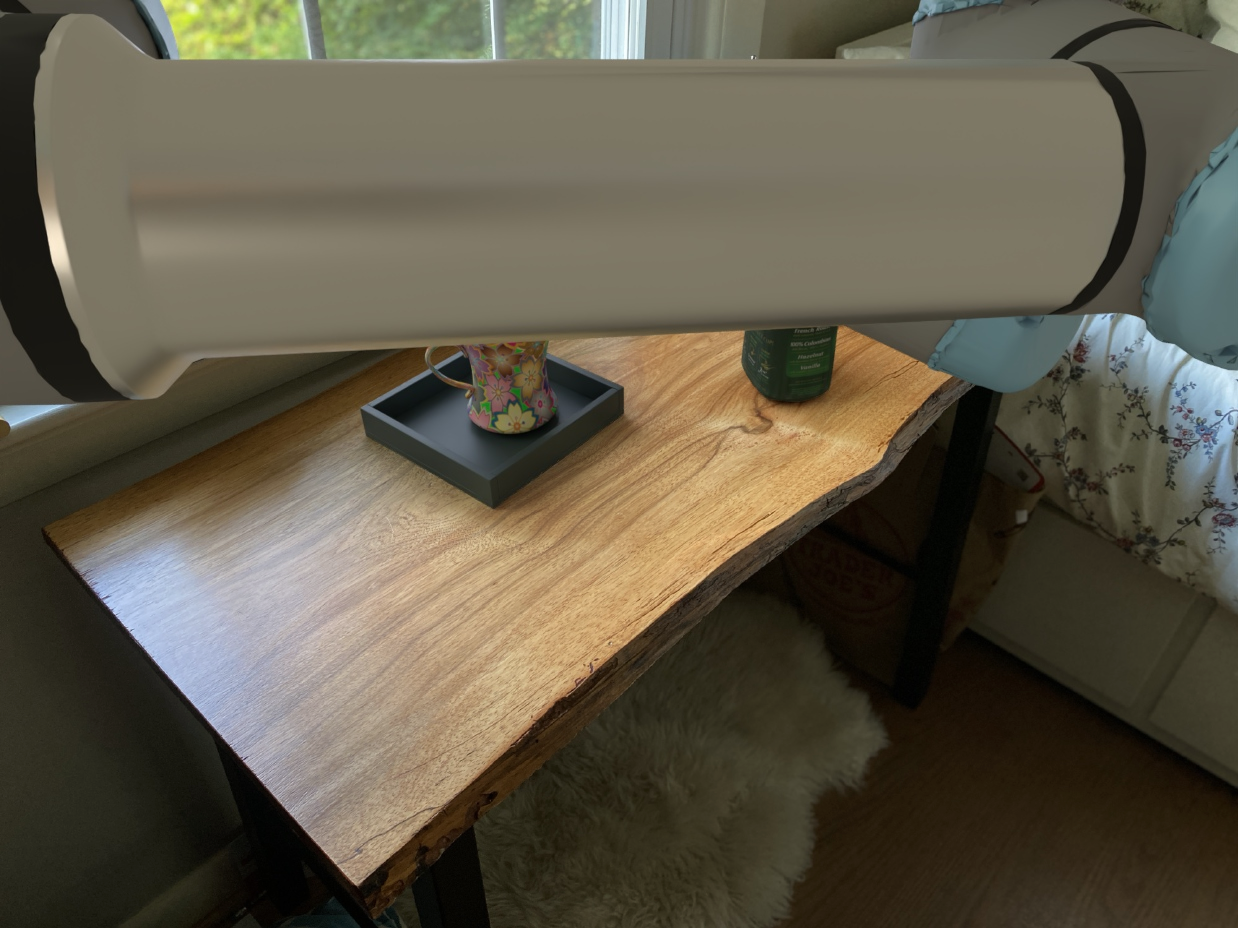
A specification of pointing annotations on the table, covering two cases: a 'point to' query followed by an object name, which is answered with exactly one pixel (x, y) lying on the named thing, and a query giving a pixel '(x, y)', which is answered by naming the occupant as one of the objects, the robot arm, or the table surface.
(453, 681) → the table surface
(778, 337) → the coffee jar
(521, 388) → the mug
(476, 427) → the tray
